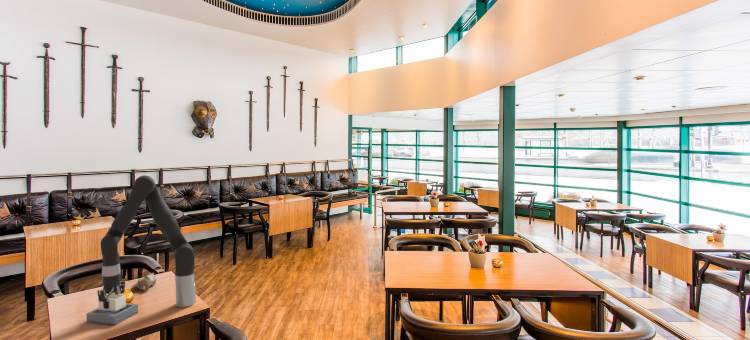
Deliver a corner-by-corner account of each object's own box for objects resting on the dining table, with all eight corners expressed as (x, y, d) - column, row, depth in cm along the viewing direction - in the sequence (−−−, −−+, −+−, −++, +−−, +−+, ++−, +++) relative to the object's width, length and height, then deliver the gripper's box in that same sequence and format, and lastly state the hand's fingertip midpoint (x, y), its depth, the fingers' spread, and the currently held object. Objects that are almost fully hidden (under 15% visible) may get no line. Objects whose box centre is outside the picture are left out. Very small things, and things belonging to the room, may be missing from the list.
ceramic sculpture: (160, 270, 229) (143, 280, 214) (162, 283, 230) (145, 294, 216) (144, 270, 230) (126, 280, 215) (145, 283, 231) (128, 294, 216)
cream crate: (109, 304, 189) (108, 293, 189) (126, 306, 188) (125, 294, 187) (98, 309, 184) (98, 297, 183) (115, 311, 182) (115, 299, 181)
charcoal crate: (111, 309, 194) (111, 301, 194) (138, 312, 192) (137, 304, 191) (86, 322, 181) (86, 313, 180) (114, 325, 178) (114, 316, 178)
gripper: (104, 278, 177) (106, 312, 178) (129, 269, 191) (130, 300, 192) (91, 277, 178) (92, 311, 179) (117, 267, 192) (118, 299, 193)
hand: (112, 305), depth 186 cm, fingers closed on cream crate, 6 cm apart
